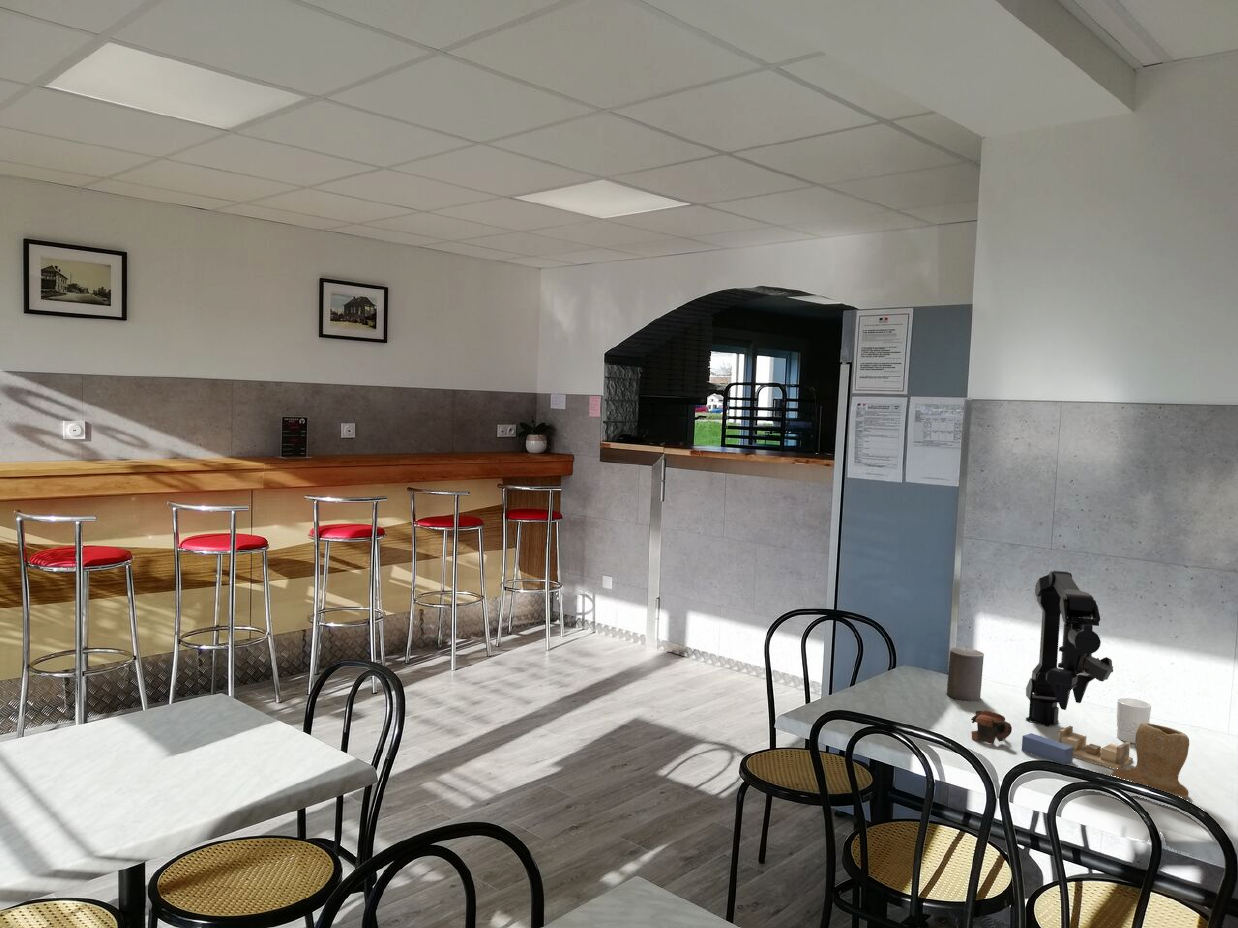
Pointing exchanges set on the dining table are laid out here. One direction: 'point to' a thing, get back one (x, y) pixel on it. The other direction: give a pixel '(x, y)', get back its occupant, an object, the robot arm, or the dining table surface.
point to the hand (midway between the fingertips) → (1070, 705)
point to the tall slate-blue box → (1047, 748)
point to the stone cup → (1158, 759)
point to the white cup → (1131, 717)
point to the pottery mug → (990, 727)
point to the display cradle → (1096, 750)
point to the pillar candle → (965, 674)
